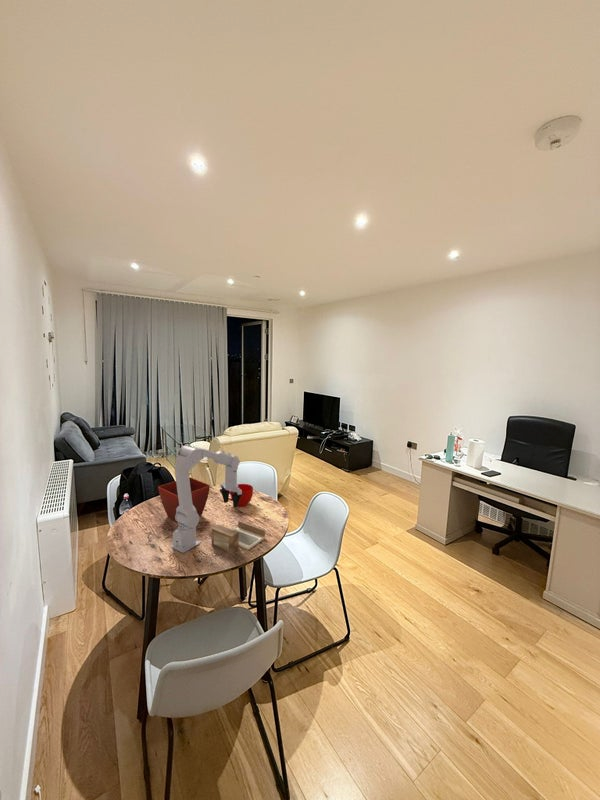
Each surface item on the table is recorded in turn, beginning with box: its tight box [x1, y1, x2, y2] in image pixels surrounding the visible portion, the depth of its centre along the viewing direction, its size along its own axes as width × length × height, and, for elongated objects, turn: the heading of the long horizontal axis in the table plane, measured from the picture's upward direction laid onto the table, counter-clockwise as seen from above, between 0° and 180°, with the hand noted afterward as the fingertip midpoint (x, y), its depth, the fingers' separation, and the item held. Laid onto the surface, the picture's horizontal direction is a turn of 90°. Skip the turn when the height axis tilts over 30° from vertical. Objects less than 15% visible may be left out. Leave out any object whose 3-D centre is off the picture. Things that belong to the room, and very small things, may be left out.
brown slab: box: [211, 524, 240, 555], centre depth 142 cm, size 5×12×8 cm, turn 58°
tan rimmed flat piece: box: [233, 520, 266, 551], centre depth 150 cm, size 12×16×4 cm
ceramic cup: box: [228, 483, 254, 508], centre depth 186 cm, size 13×17×10 cm
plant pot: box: [157, 476, 211, 523], centre depth 169 cm, size 19×19×17 cm
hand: (230, 504), depth 163 cm, fingers open, 7 cm apart
